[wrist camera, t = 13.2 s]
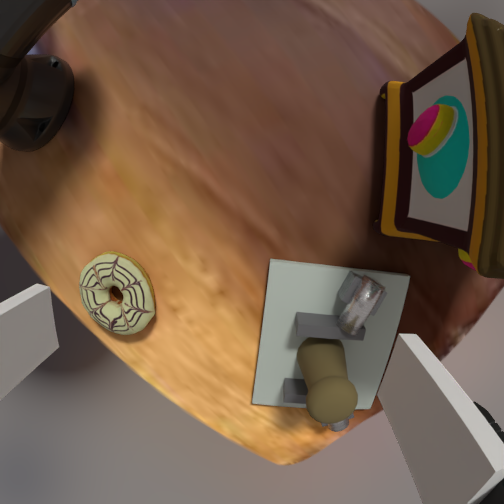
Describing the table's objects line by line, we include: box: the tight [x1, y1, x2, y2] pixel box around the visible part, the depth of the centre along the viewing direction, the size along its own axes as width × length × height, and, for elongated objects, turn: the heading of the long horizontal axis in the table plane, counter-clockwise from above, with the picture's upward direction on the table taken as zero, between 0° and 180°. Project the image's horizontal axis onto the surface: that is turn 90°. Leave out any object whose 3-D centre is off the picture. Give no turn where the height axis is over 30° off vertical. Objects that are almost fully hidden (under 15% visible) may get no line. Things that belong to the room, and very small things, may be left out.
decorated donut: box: [79, 252, 156, 335], centre depth 36 cm, size 10×11×4 cm
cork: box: [297, 337, 358, 424], centre depth 30 cm, size 6×6×11 cm
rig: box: [252, 259, 410, 409], centre depth 34 cm, size 17×20×5 cm
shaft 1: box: [321, 413, 354, 432], centre depth 35 cm, size 5×4×4 cm
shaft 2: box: [336, 270, 387, 335], centre depth 32 cm, size 6×4×4 cm
